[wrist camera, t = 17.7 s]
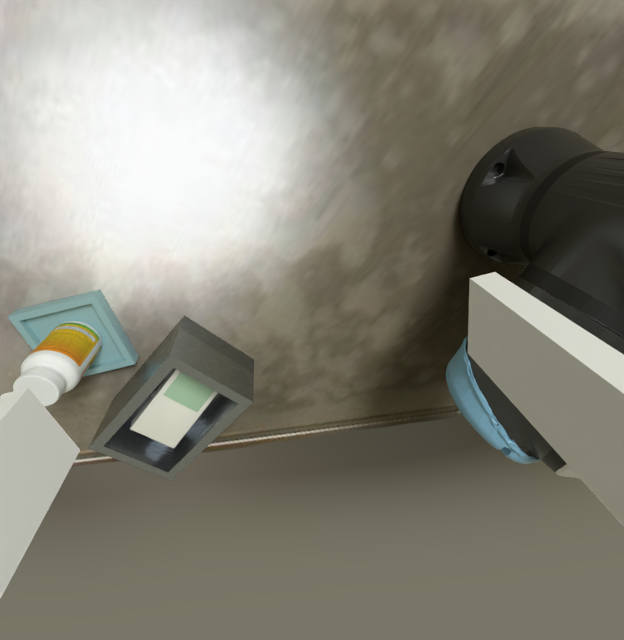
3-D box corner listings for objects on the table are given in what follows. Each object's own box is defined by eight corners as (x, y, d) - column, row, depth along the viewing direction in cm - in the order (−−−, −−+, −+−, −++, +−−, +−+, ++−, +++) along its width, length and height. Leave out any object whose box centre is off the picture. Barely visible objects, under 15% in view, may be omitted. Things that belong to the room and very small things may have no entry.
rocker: (175, 359, 43) (174, 366, 42) (221, 385, 46) (222, 392, 45) (129, 419, 44) (126, 428, 42) (177, 441, 47) (176, 450, 45)
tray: (100, 289, 41) (94, 295, 40) (138, 356, 46) (135, 364, 45) (15, 310, 41) (7, 316, 39) (63, 375, 46) (57, 383, 45)
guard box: (184, 315, 44) (170, 355, 37) (253, 359, 49) (253, 402, 41) (113, 398, 49) (88, 448, 42) (182, 431, 54) (171, 480, 46)
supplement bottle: (48, 318, 41) (-5, 369, 33) (99, 320, 42) (59, 370, 34) (59, 356, 44) (12, 412, 35) (106, 357, 45) (72, 412, 36)
